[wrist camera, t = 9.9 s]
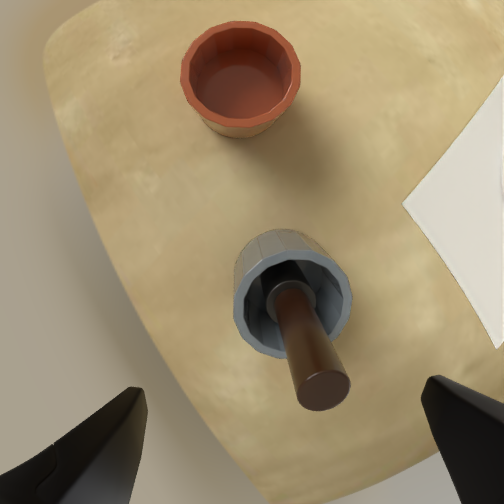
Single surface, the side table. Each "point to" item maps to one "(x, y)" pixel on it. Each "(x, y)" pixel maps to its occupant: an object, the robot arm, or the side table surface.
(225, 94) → the holder
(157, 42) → the side table surface
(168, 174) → the side table surface
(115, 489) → the robot arm
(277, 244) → the cup
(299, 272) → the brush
